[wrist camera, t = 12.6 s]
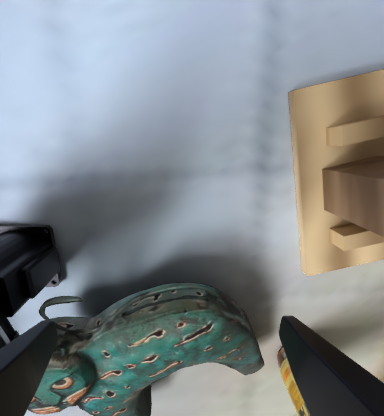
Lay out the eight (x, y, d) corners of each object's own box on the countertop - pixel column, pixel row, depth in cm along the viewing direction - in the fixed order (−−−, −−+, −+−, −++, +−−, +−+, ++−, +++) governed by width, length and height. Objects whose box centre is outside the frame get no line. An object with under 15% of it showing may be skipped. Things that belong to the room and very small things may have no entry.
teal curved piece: (113, 452, 23) (-75, 387, 14) (120, 383, 29) (-9, 302, 19) (279, 380, 22) (202, 252, 12) (253, 322, 28) (186, 203, 18)
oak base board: (301, 270, 23) (319, 288, 21) (288, 92, 18) (308, 83, 15) (386, 251, 23) (415, 266, 21) (397, 67, 18) (438, 53, 15)
